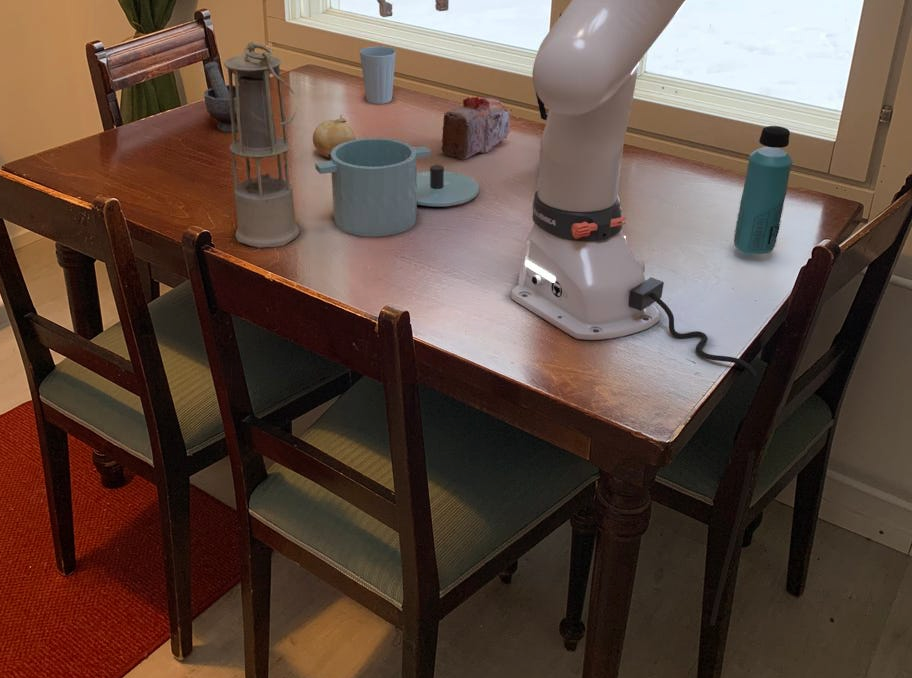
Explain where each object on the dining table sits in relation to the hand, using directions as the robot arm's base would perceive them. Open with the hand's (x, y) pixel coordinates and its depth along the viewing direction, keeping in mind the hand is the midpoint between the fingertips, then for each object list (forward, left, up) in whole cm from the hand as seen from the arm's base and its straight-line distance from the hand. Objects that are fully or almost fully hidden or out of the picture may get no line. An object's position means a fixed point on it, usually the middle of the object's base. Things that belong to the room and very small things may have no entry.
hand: (414, 13), depth 155 cm
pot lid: (+2, -5, -30) cm, 31 cm away
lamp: (-4, +27, -31) cm, 41 cm away
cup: (+54, -15, -31) cm, 64 cm away
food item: (+19, -21, -31) cm, 42 cm away
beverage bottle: (-40, -40, -31) cm, 65 cm away
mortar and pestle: (+51, +19, -31) cm, 63 cm away
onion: (+27, +5, -31) cm, 42 cm away
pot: (-4, +9, -31) cm, 33 cm away
